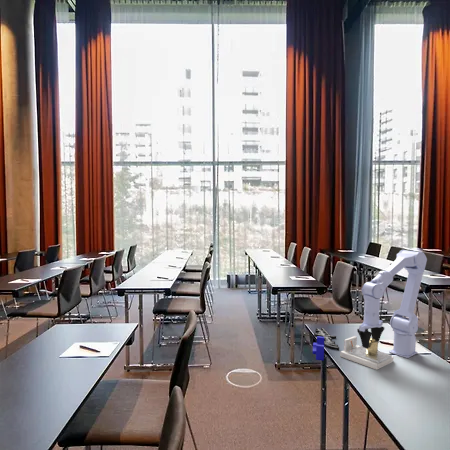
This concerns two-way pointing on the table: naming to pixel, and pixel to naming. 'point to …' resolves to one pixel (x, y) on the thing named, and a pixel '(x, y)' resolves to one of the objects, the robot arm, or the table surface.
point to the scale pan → (362, 353)
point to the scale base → (352, 344)
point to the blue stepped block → (319, 348)
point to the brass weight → (372, 347)
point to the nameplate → (326, 338)
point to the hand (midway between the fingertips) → (370, 345)
